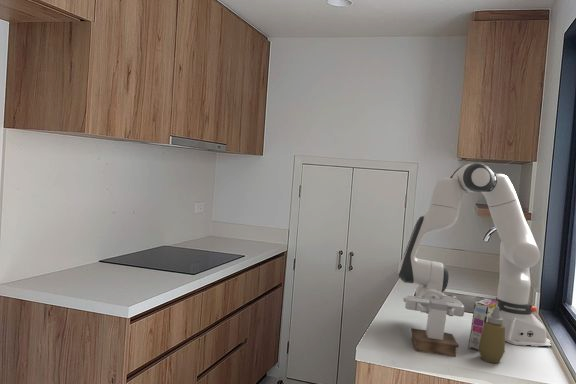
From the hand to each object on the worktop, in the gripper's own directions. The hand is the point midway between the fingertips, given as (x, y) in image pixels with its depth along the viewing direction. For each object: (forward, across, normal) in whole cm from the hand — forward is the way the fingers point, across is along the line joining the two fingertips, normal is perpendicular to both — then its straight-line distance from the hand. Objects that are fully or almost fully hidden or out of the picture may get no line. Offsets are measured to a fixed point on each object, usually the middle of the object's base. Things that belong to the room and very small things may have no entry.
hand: (437, 312), depth 179 cm
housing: (0, 0, +8) cm, 9 cm away
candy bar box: (-9, +18, +13) cm, 24 cm away
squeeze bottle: (+4, +18, +13) cm, 22 cm away
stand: (0, 0, +12) cm, 13 cm away
